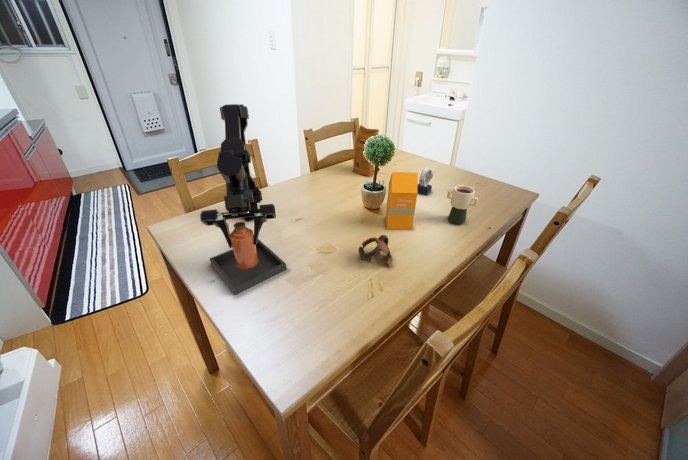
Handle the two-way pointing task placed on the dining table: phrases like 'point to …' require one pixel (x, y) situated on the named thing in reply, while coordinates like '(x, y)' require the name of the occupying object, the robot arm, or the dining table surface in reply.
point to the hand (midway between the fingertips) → (243, 246)
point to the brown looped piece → (376, 249)
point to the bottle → (243, 246)
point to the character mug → (460, 203)
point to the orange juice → (401, 200)
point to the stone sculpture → (425, 181)
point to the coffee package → (359, 160)
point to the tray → (249, 277)
